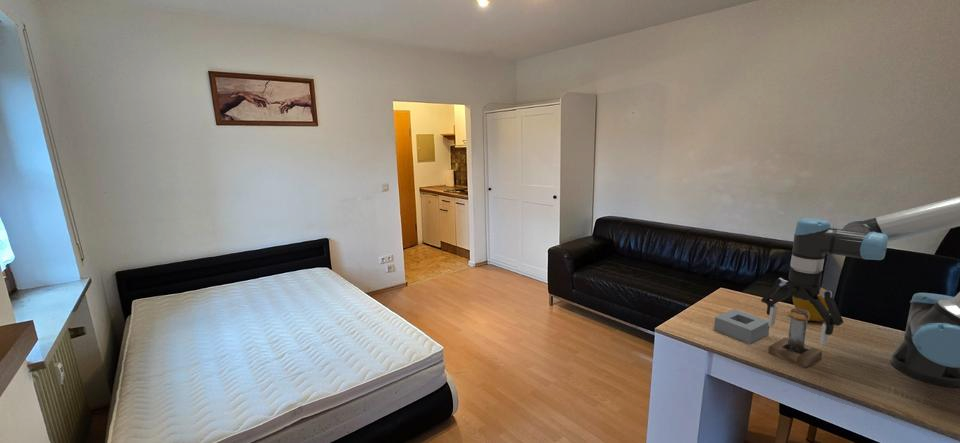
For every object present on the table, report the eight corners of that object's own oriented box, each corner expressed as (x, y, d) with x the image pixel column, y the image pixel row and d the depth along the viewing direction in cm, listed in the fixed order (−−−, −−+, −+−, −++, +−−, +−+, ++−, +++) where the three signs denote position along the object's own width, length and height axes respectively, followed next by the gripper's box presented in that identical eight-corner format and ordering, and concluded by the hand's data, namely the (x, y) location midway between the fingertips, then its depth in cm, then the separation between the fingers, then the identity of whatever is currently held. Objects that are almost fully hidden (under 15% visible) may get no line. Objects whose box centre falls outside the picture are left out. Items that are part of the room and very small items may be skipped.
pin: (806, 356, 121) (812, 312, 118) (799, 361, 119) (805, 316, 116) (789, 350, 125) (795, 307, 122) (782, 354, 123) (787, 310, 120)
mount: (821, 357, 120) (822, 350, 120) (805, 367, 116) (806, 360, 115) (783, 344, 129) (784, 337, 128) (768, 352, 124) (769, 345, 124)
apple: (783, 314, 149) (787, 283, 147) (804, 310, 152) (808, 279, 149) (814, 327, 139) (819, 293, 136) (836, 322, 142) (841, 289, 139)
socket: (768, 334, 135) (770, 321, 134) (749, 344, 130) (751, 330, 129) (732, 321, 146) (734, 309, 145) (714, 329, 140) (715, 317, 139)
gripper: (866, 279, 107) (853, 348, 112) (766, 257, 129) (758, 315, 133) (854, 284, 104) (841, 355, 109) (754, 261, 125) (746, 320, 130)
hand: (795, 333), depth 121 cm, fingers open, 13 cm apart
